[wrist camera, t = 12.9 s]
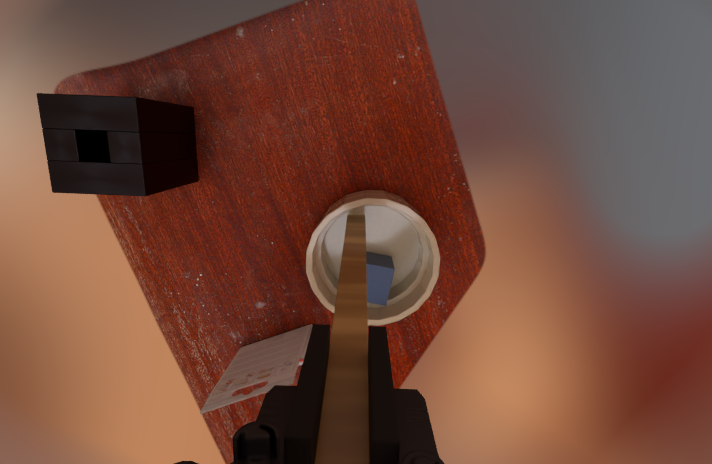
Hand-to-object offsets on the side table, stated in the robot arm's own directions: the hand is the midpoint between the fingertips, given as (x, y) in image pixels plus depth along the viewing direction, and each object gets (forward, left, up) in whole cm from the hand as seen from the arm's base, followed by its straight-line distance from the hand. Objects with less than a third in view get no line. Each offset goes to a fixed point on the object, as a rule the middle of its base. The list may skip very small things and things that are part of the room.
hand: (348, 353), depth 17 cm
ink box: (+14, -8, -24) cm, 29 cm away
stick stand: (-8, -20, -24) cm, 32 cm away
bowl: (+2, +2, -24) cm, 24 cm away
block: (+4, +2, -23) cm, 24 cm away
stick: (-1, 0, -22) cm, 22 cm away
